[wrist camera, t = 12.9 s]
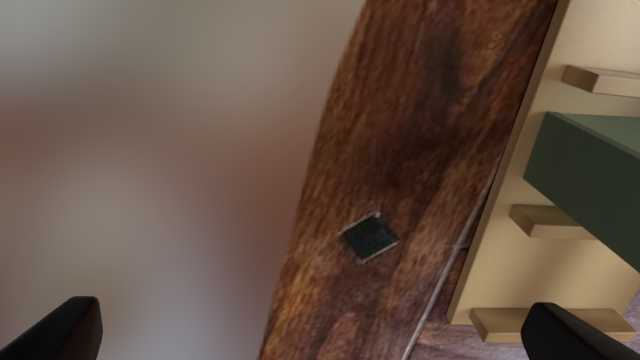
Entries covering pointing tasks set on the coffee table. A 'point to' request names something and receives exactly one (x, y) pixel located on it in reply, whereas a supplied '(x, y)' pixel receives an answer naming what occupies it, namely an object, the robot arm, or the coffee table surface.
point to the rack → (539, 212)
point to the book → (592, 175)
